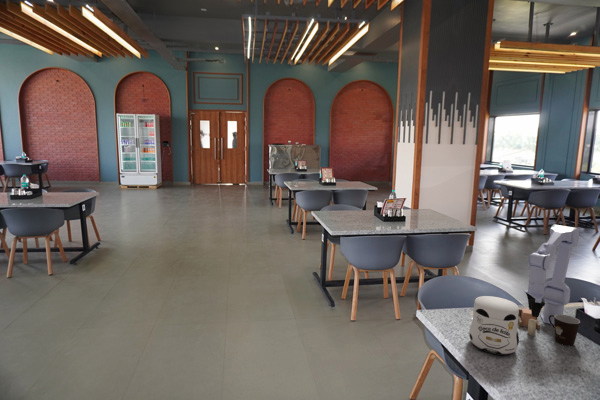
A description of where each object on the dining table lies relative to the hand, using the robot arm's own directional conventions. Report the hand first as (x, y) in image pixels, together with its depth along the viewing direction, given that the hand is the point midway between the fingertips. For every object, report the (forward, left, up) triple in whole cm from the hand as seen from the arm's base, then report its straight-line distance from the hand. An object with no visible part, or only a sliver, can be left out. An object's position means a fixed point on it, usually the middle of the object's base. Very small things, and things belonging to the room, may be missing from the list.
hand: (533, 313), depth 162 cm
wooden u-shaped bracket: (-9, 0, -9) cm, 13 cm away
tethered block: (-6, 0, -9) cm, 11 cm away
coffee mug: (+1, +11, -9) cm, 15 cm away
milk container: (+19, -16, -10) cm, 27 cm away
